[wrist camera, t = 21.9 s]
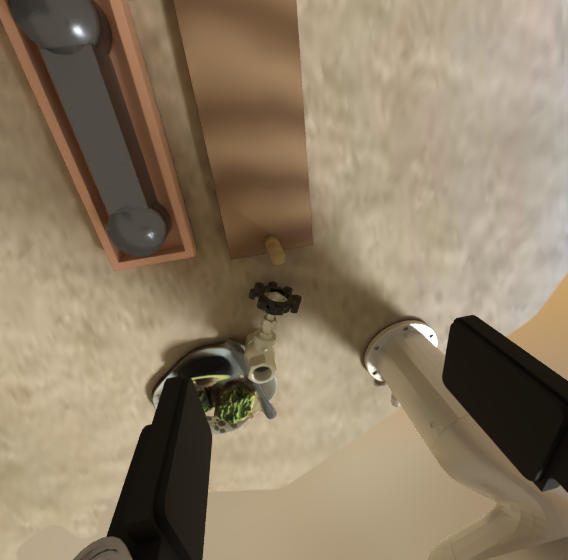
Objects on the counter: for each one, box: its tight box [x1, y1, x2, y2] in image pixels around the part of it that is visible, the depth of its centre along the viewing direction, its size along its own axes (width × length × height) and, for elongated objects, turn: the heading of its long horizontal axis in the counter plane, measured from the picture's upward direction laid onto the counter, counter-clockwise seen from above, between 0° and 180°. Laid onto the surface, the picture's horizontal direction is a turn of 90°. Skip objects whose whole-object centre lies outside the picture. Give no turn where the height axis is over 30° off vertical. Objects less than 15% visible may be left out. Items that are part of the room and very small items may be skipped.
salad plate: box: [152, 339, 277, 434], centre depth 43 cm, size 19×18×5 cm
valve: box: [244, 282, 302, 384], centre depth 37 cm, size 7×7×12 cm
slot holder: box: [0, 0, 197, 271], centre depth 26 cm, size 25×9×3 cm, turn 6°
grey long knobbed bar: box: [8, 0, 172, 257], centre depth 25 cm, size 21×5×4 cm, turn 7°
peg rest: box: [173, 0, 313, 265], centre depth 25 cm, size 28×10×6 cm, turn 6°
